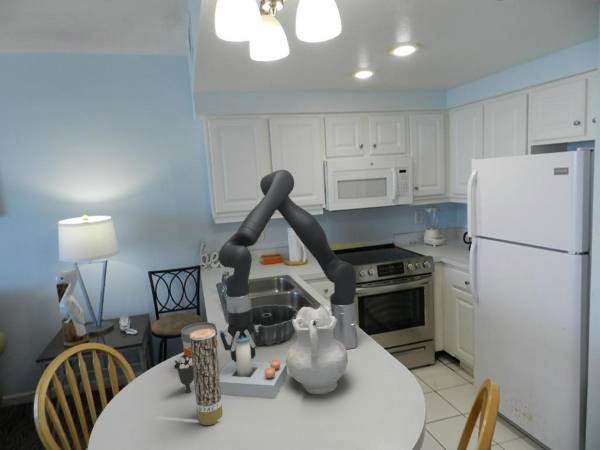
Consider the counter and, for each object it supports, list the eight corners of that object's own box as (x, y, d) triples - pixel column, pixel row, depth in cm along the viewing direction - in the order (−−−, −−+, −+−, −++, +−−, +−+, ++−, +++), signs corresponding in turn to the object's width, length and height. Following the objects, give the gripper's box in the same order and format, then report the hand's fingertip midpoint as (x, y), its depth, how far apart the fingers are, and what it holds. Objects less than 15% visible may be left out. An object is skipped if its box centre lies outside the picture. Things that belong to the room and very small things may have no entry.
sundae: (203, 390, 126) (199, 345, 124) (191, 401, 120) (186, 354, 118) (186, 388, 128) (181, 344, 126) (173, 399, 122) (168, 352, 120)
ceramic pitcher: (357, 404, 115) (359, 321, 112) (291, 409, 112) (292, 324, 109) (338, 370, 136) (339, 300, 134) (282, 374, 133) (282, 302, 130)
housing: (287, 378, 131) (286, 363, 130) (275, 401, 117) (273, 385, 116) (231, 374, 135) (230, 360, 135) (213, 396, 122) (212, 381, 121)
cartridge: (255, 377, 124) (251, 336, 123) (237, 381, 123) (233, 339, 121) (252, 369, 130) (248, 330, 128) (235, 373, 128) (231, 333, 127)
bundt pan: (271, 356, 148) (269, 330, 147) (223, 342, 164) (221, 319, 163) (311, 332, 169) (310, 309, 168) (266, 322, 185) (264, 301, 184)
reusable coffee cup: (227, 363, 144) (223, 323, 143) (205, 379, 133) (201, 337, 131) (199, 358, 150) (196, 320, 148) (176, 374, 138) (172, 333, 137)
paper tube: (200, 413, 113) (192, 329, 110) (224, 410, 114) (216, 327, 111) (196, 427, 106) (187, 339, 104) (221, 425, 107) (213, 337, 104)
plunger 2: (281, 371, 128) (281, 359, 127) (279, 376, 125) (278, 364, 124) (272, 371, 129) (271, 359, 128) (269, 375, 125) (268, 364, 125)
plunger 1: (277, 380, 122) (276, 367, 122) (273, 385, 119) (273, 372, 119) (267, 379, 123) (266, 367, 123) (263, 384, 120) (263, 372, 120)
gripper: (217, 315, 118) (222, 368, 120) (263, 307, 122) (268, 360, 124) (215, 307, 126) (220, 358, 127) (259, 301, 129) (263, 350, 131)
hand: (243, 359), depth 126 cm, fingers closed on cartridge, 5 cm apart
